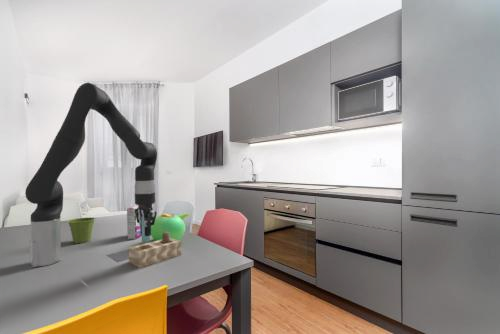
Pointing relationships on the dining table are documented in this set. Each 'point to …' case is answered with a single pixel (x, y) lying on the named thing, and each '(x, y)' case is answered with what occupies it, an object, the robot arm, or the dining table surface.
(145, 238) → the teal peg
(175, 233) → the toy bird
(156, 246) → the hole block
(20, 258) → the dining table surface
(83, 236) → the plant pot
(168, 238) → the walnut peg
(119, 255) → the mat
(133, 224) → the candy bar box
